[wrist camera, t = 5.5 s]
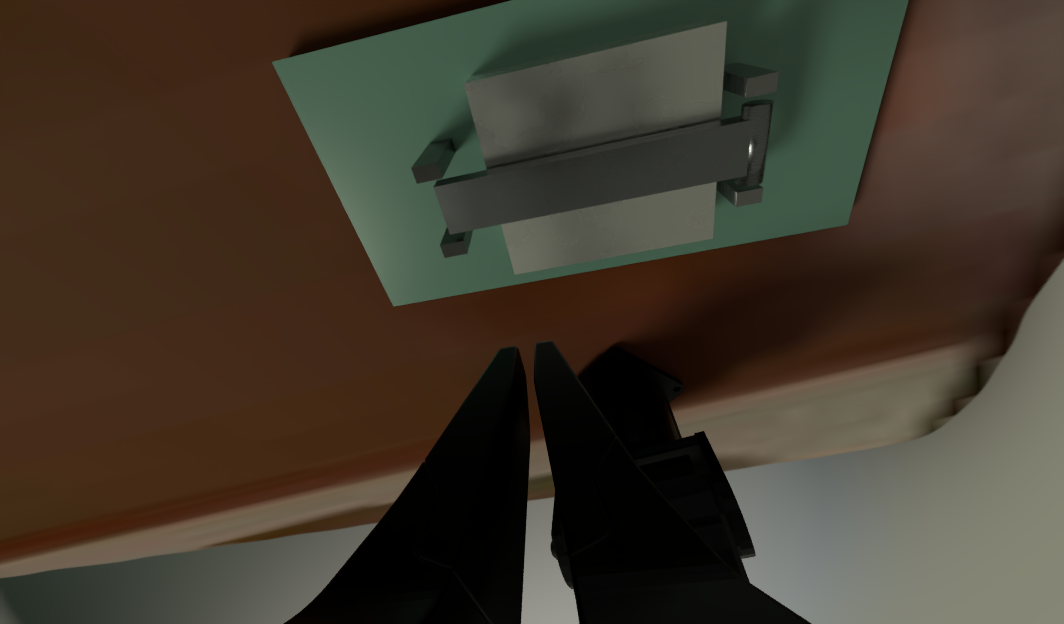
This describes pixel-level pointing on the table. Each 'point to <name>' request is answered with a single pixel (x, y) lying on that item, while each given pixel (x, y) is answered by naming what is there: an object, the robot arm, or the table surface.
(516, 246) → the heat sink
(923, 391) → the table surface
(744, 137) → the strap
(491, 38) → the circuit board
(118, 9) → the table surface
